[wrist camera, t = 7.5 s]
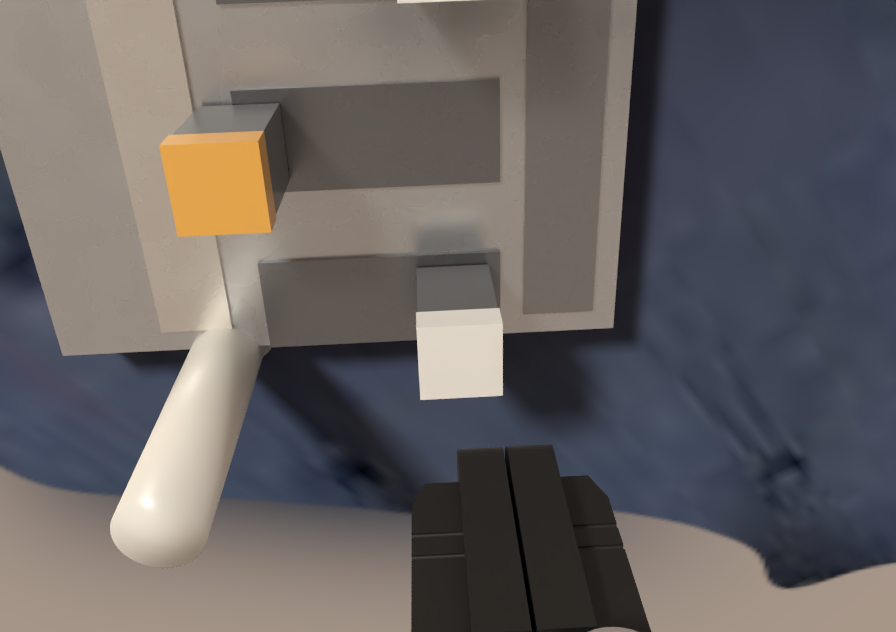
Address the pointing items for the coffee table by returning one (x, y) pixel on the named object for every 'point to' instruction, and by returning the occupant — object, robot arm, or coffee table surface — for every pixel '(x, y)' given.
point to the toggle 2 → (419, 0)
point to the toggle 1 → (226, 170)
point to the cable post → (189, 452)
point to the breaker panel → (320, 162)
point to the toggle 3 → (458, 333)
